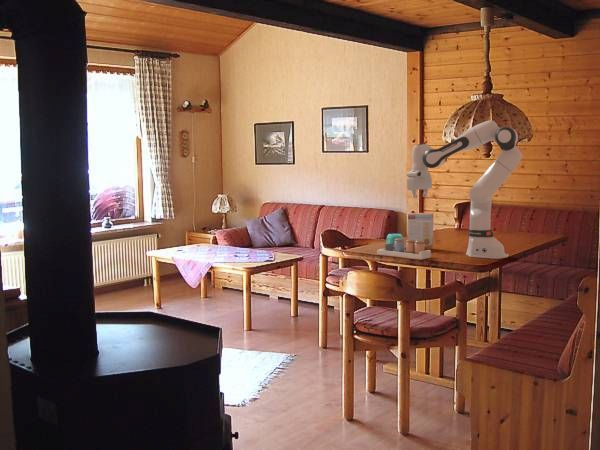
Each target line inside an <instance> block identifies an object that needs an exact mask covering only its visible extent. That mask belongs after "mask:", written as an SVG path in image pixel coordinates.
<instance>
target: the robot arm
mask: <svg viewBox="0 0 600 450" xmlns="http://www.w3.org/2000/svg"><path fill="white" fill-rule="evenodd" d="M519 138H520V137H519V133H518V132H517V131H516V129H514V128H513V127H511V126H501V127H499V125H498V124H497V122H495V120H492V119H491V120H485V121H483V122H481V123H478V124H475V125H474V126H472V127H471V128H468V129H467V130H466V131H464V132H463V133H462V134H461V135H459V136H458V137H456V138H455V139H454V140H453V141H451V142H448V143H447V144H445V145H443V146H441V147H439V148H434V147H432V146H430V145H429V144H427V143H418V144H416V145H414V146H413V147H412V153H411V159H412V160H411V162H412V166H411V170H410V171H408V172H406V176H407V178H406V179H407V180H406V187H407V190H408V191H411V193H412V197H413V199H417V198H418V194H417V191H418V190H422V191H423V193H422V197H423V198H427V196H428V195H427V194H428V192H429V189H432V187H433V179H432V176H431V174H430V172H429V169H434V168H438V167H441V166H442V165H444V163H445V162H446V159H447V158H448V157H451V156H453V155H454V154H456V153H458V152H463V151H469V150H473V149H476V148H479V147H481V146H483V145H486V144H487V143H490V142H493V141H495V142H496V144H497V145H498V147H499V148H500V150H501V152H500V153H499V155H498V156H497V157H496V158H495V160H494V161H493V162H492V163H491V164H490V165H489V167H488V168H486V169H487V170H486V171H484V172H483V174H482V175H481V176H480V177H479V178H478V180H477V181H476V182H475V184H473V186H472V187H471V188H470V189H469V193H468V196H469V200H470V210H469V229H468V244H467V249H466V253H465V255H466V256H468V257H470V258H479V259H480V258H481V259H493V260H498V259H500V260H501V259H505V258H508V257H509V254H508V253H505V247H504V245H503V243H501V242H500V241H499V240H498V239H497V238H496V237H494V234H495V232H496V231H493V230H492V229H491V219H492V218H491V217H492V216H491V215H492V213H491V212H492V200H493V199H492V198H493V196H494V195H495V193H496V192H497V191H498V190H499V189H500V187H502V185H503V184H504V183H505V182H506V180H507V179H508V178H509V177H510V176H511V174H512V173H513V172H514V171H515V169H516V168H517V166H518V165H519V164H520V162H521V160H522V159H523V153H522V152H521V150H520V149H519V148H518V147H517V144H518V143H519Z"/></svg>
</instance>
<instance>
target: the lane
mask: <svg viewBox="0 0 600 450" xmlns="http://www.w3.org/2000/svg"><path fill="white" fill-rule="evenodd" d="M431 251H432V250H424V251H421V252H419V254H412V253H406V249H404V253H403V252H395V249H393V251H386V250H385V248H380V249H377V250H376V255H380V256H387V257H388V256H389V257H396V258H403V259H404V258H405V259H413V260H425V259H430V258H432V253H431Z"/></svg>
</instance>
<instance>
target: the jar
mask: <svg viewBox="0 0 600 450" xmlns="http://www.w3.org/2000/svg"><path fill="white" fill-rule="evenodd" d="M415 241H416V240H408V239H406V240H405V250H406V253H412V254H414V247H415Z"/></svg>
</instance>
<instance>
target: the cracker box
mask: <svg viewBox="0 0 600 450" xmlns="http://www.w3.org/2000/svg"><path fill="white" fill-rule="evenodd" d="M407 240H416V241H424V251H426V250H431V251H432V250H433V249H434V213H432V212H431V213H430V212H429V213H428V212H410V213H407Z"/></svg>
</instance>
